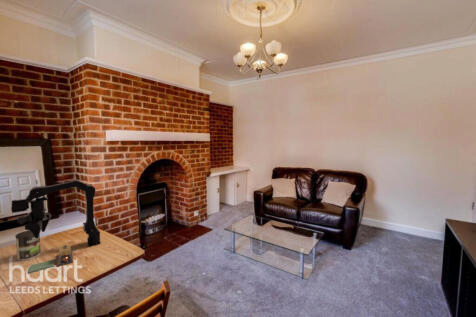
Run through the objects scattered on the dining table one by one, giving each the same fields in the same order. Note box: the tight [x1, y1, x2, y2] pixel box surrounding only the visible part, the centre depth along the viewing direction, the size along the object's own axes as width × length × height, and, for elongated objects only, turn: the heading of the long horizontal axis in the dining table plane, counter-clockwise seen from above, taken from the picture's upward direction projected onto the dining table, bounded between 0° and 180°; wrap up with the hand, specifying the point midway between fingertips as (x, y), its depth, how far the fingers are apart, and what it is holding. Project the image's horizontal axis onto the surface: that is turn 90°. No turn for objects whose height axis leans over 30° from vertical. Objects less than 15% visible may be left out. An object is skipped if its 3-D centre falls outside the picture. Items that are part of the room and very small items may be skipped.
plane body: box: [57, 249, 74, 267], centre depth 125 cm, size 15×6×5 cm, turn 38°
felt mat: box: [28, 259, 55, 274], centre depth 118 cm, size 10×8×1 cm
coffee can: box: [14, 230, 42, 262], centre depth 128 cm, size 10×10×14 cm
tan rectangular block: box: [58, 244, 72, 257], centre depth 124 cm, size 7×5×3 cm
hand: (40, 234), depth 125 cm, fingers open, 9 cm apart
